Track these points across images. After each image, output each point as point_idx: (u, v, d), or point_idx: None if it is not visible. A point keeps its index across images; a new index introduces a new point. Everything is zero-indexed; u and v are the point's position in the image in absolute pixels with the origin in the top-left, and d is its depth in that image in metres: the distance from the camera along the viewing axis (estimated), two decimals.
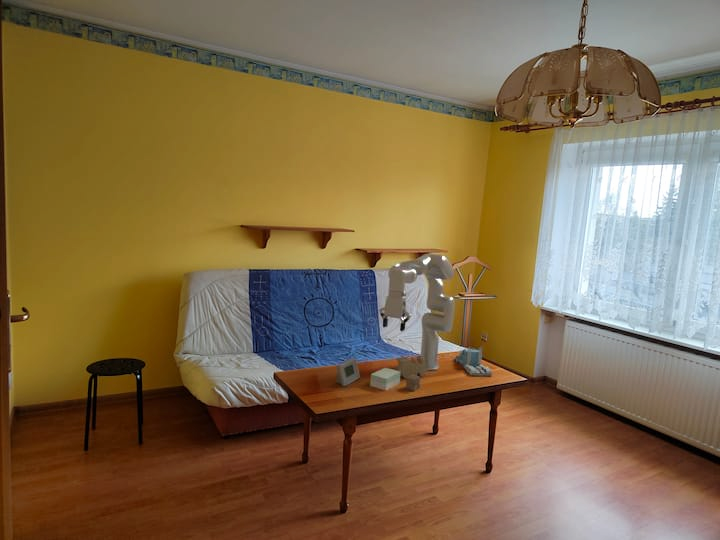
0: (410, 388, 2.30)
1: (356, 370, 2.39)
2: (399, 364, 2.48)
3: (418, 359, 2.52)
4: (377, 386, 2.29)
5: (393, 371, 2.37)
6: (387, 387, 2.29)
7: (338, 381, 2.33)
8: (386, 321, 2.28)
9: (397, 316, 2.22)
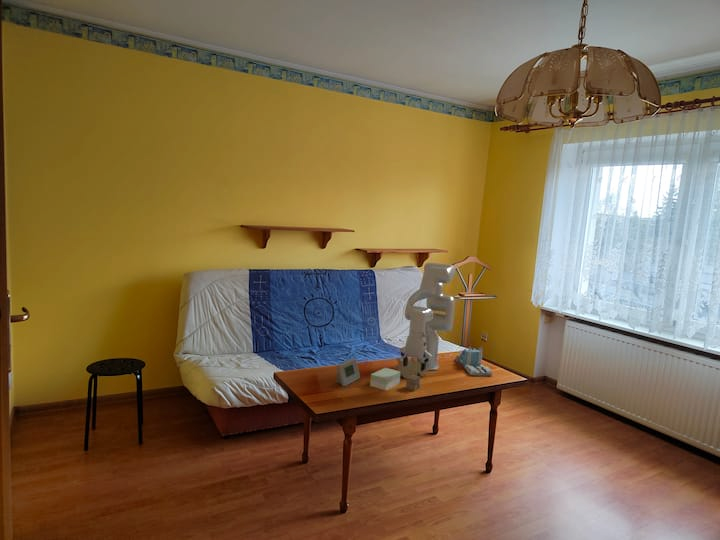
0: (410, 388, 2.30)
1: (356, 370, 2.39)
2: (399, 364, 2.48)
3: (418, 359, 2.52)
4: (377, 386, 2.29)
5: (393, 371, 2.37)
6: (387, 387, 2.29)
7: (338, 381, 2.33)
8: (406, 360, 2.33)
9: (418, 356, 2.26)
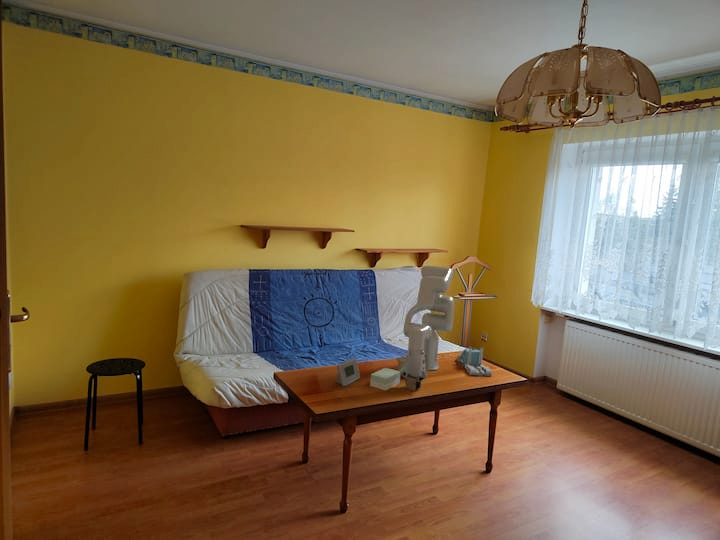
0: (410, 388, 2.30)
1: (356, 370, 2.39)
2: (399, 364, 2.48)
3: None
4: (377, 386, 2.29)
5: (393, 371, 2.37)
6: (387, 387, 2.29)
7: (338, 381, 2.33)
8: None
9: (416, 374, 2.28)
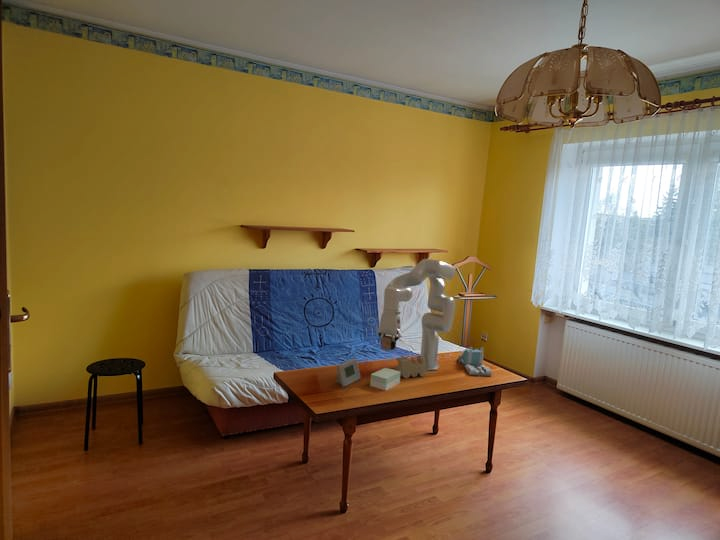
0: (385, 348, 2.31)
1: (356, 370, 2.38)
2: (399, 364, 2.48)
3: (418, 359, 2.52)
4: (377, 386, 2.29)
5: (393, 371, 2.37)
6: (387, 387, 2.29)
7: (338, 381, 2.33)
8: None
9: (392, 333, 2.29)
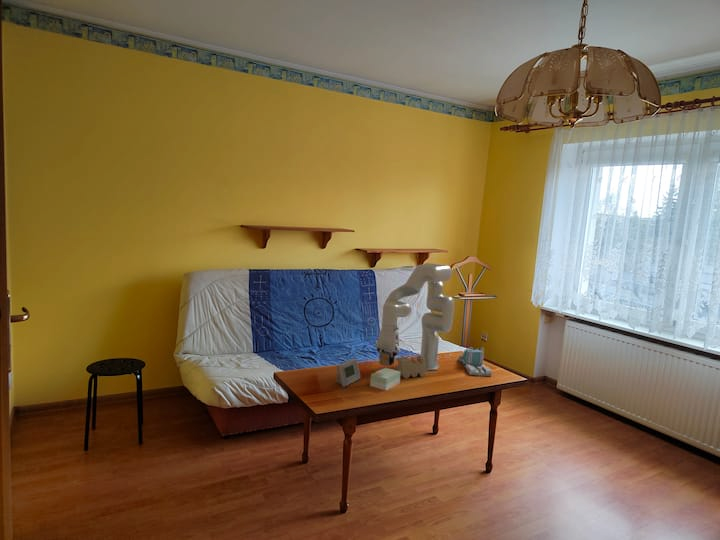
0: (384, 363, 2.32)
1: (357, 371, 2.38)
2: (399, 364, 2.48)
3: (418, 359, 2.52)
4: (377, 386, 2.29)
5: (393, 371, 2.37)
6: (387, 387, 2.29)
7: (338, 381, 2.33)
8: None
9: (390, 349, 2.30)
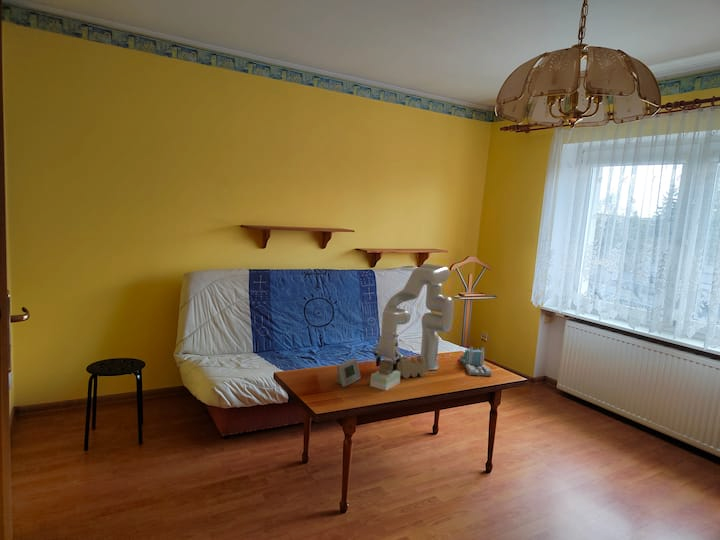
0: (383, 372, 2.32)
1: (357, 371, 2.38)
2: (399, 364, 2.48)
3: (418, 359, 2.52)
4: (377, 386, 2.29)
5: (393, 371, 2.37)
6: (387, 387, 2.29)
7: (338, 381, 2.33)
8: (379, 360, 2.37)
9: (390, 357, 2.30)
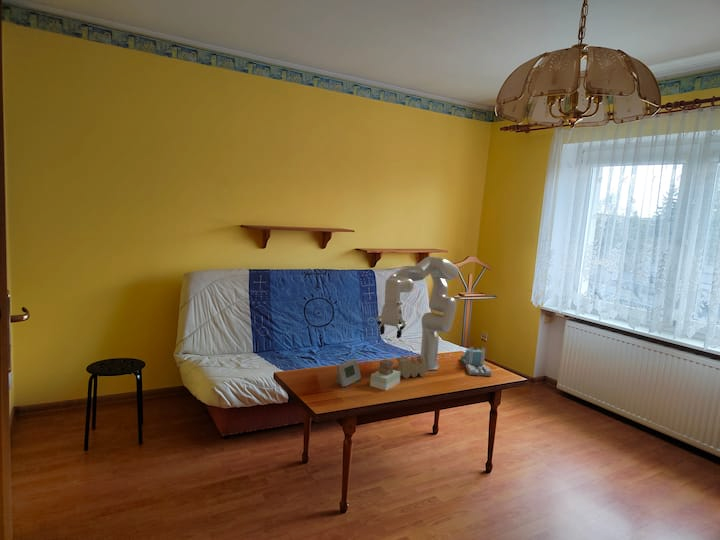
0: (383, 372, 2.32)
1: (357, 371, 2.38)
2: (399, 364, 2.48)
3: (418, 359, 2.52)
4: (377, 386, 2.29)
5: (393, 371, 2.37)
6: (387, 387, 2.29)
7: (338, 382, 2.33)
8: (383, 328, 2.39)
9: (393, 324, 2.32)
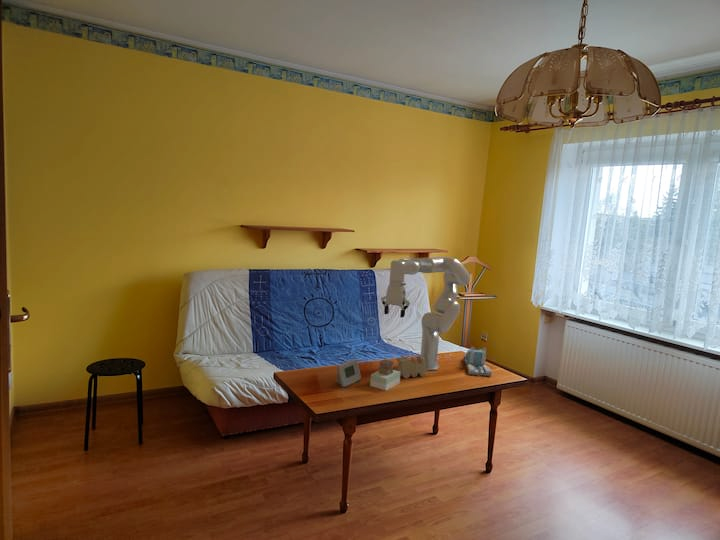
0: (383, 372, 2.32)
1: (357, 371, 2.38)
2: (399, 364, 2.48)
3: (418, 359, 2.52)
4: (377, 386, 2.29)
5: (393, 371, 2.37)
6: (387, 387, 2.29)
7: (338, 382, 2.33)
8: (387, 309, 2.49)
9: (397, 304, 2.43)
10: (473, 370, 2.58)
